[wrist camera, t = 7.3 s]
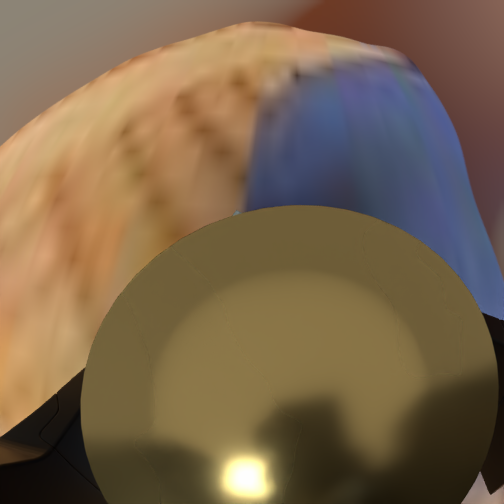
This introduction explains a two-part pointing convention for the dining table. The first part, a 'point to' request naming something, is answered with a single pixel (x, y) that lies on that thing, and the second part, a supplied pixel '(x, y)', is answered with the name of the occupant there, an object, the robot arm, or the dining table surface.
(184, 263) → the pin
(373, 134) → the dining table surface
